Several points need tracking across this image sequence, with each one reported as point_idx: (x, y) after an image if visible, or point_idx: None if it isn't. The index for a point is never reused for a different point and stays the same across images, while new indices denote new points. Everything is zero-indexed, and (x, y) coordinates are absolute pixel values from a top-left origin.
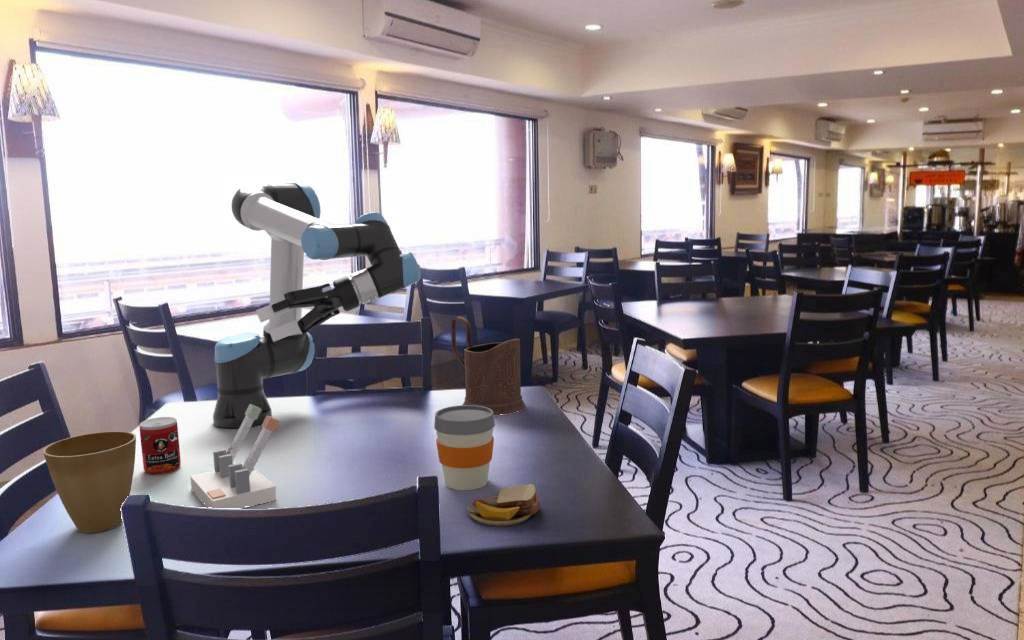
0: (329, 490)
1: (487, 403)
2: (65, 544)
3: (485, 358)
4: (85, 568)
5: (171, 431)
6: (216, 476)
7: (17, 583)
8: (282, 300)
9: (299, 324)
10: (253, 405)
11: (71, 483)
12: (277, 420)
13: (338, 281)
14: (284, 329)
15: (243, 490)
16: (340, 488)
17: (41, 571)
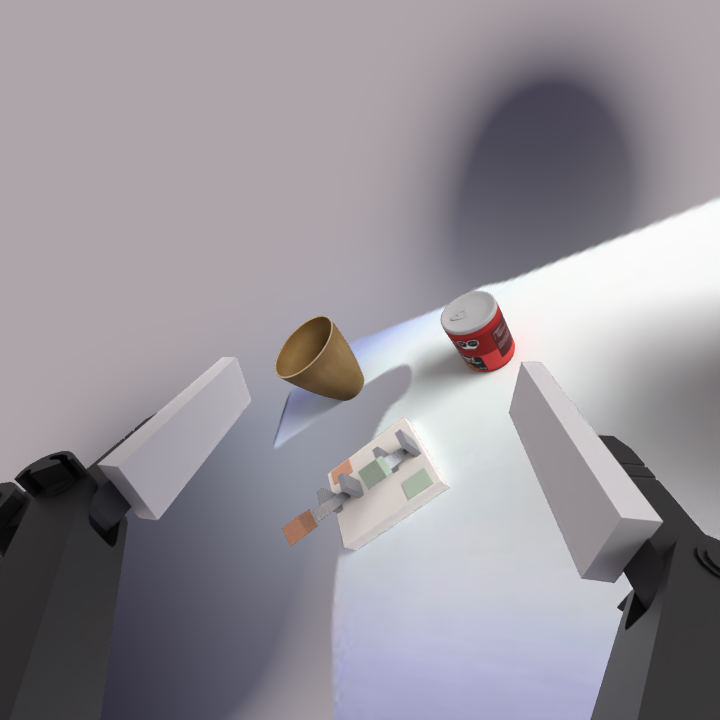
0: (371, 652)
1: None
2: None
3: None
4: (293, 417)
5: (459, 339)
6: (395, 450)
7: (292, 391)
8: (118, 451)
9: (646, 566)
10: (374, 468)
11: (299, 364)
12: (288, 541)
13: None
14: (548, 442)
15: None
16: (374, 680)
17: (300, 394)
